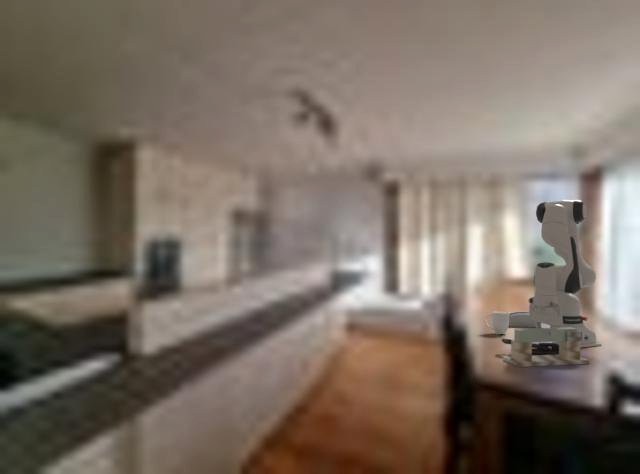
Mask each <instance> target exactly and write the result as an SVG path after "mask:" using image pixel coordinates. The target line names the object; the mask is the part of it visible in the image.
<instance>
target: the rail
mask: <svg viewBox="0 0 640 474" xmlns="http://www.w3.org/2000/svg"><path fill="white" fill-rule="evenodd" d="M550 330H551V328H550V327H542V328H537V327H530V328H514V332H513V333H514V334H513V335H514V339H513V340H514V341H516V342H519V343H524V342H531V343H552V341H567V332H576V331H577V329H576V328H572V327H561V328H557V329H556V331H555V336H550V335H549V331H550Z"/></svg>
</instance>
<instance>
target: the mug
mask: <svg viewBox="0 0 640 474" xmlns="http://www.w3.org/2000/svg"><path fill="white" fill-rule="evenodd" d="M509 314H510V312H509V311H502V310H495V311H491V313H490V314H488V315H487V316H486V318H485V319H486V325H487V327H488V328H490V329H491V330H493V331H494V334H495V335H497V334H505V335H507V331H508V329H509V327H510V326H509ZM489 317H491V326H490V325H489V324H488V321H487V320H488V318H489Z"/></svg>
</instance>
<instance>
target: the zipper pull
mask: <svg viewBox="0 0 640 474" xmlns="http://www.w3.org/2000/svg"><path fill="white" fill-rule="evenodd" d="M511 340H512V339H510V338H509V339H508V338H503V337H502V339H501V342H502V343H503V344H505V345H511ZM531 343H532V356H534V355H558V354H559V345H558V344H556V343H552V342H538V343H534V342H531ZM550 347H551V348H550Z"/></svg>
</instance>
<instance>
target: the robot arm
mask: <svg viewBox="0 0 640 474" xmlns="http://www.w3.org/2000/svg"><path fill="white" fill-rule="evenodd" d="M586 207H587V206H586V204H585V202H584V201H583V200H580V199H574V200H571V199H570V200H569V199H561V200H560V199H559V200H554V201H553V200H552V201H548V202H547V201H544V202H540V203H539V204H538V205H537V206H536V210H535V215H536V219H537V221H538V222H539V223H540V224H541V229H540V230H541V231H540V232H541V234H540V235H541V238H542V241H543V242H545V244H546V245H548V246H550V247H551V248H553V250H554V251H553V252H554V253H555V254H556V255H557V256H558V257H560V258H562V259H563V260H564V262H565V263H553V262H548V261H546V262H540V263H537V264H536V265H535V272H534V276H533V285H534V287H535V289H534V290H535V291H534V296H531V297H529V298H528V303H529V304H528V305H529V306H528V309H529V311H528V312H529V316H530V319H531V320H534V321H535V324H536V327H535V328H543V327H542V324H544V325H548V326H549V328H551V330H550V331H549V335H550V336H555V331H556V329H557V328H561V327H572V328H576V329H577V330H578V331H582V341H580V348H588V347H590V348H591V347H598V346H602V343H601V341H598V340H597V336H596V332H595V331H594V330H593V329H592V328H590V327H589V326H587V325H586V324H585V323H584V321H585V322H587V321H588V320H589V318H588V317H587V316H582V315H581V301H580V299H579V298H578V296H577V295H575V294H576V293H578V292H580V290H582V288H588V287H589V288H590V287H592V286H593V285H594V283H595V282H596V279H597V278H596V277H597V275H596V271H595V270H594V268H593V267H592V266H590V265H589V264H588V263H586V261H585V259H584V258H583V257H582V256H583V255H582V254H581V251H580V246H579V245H580V244H579V231H578V225H579V224H580V223H581V222H583V221H584V220H585V219H586V215H587V208H586ZM551 343H556V344H558V345H559V341H551Z"/></svg>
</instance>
